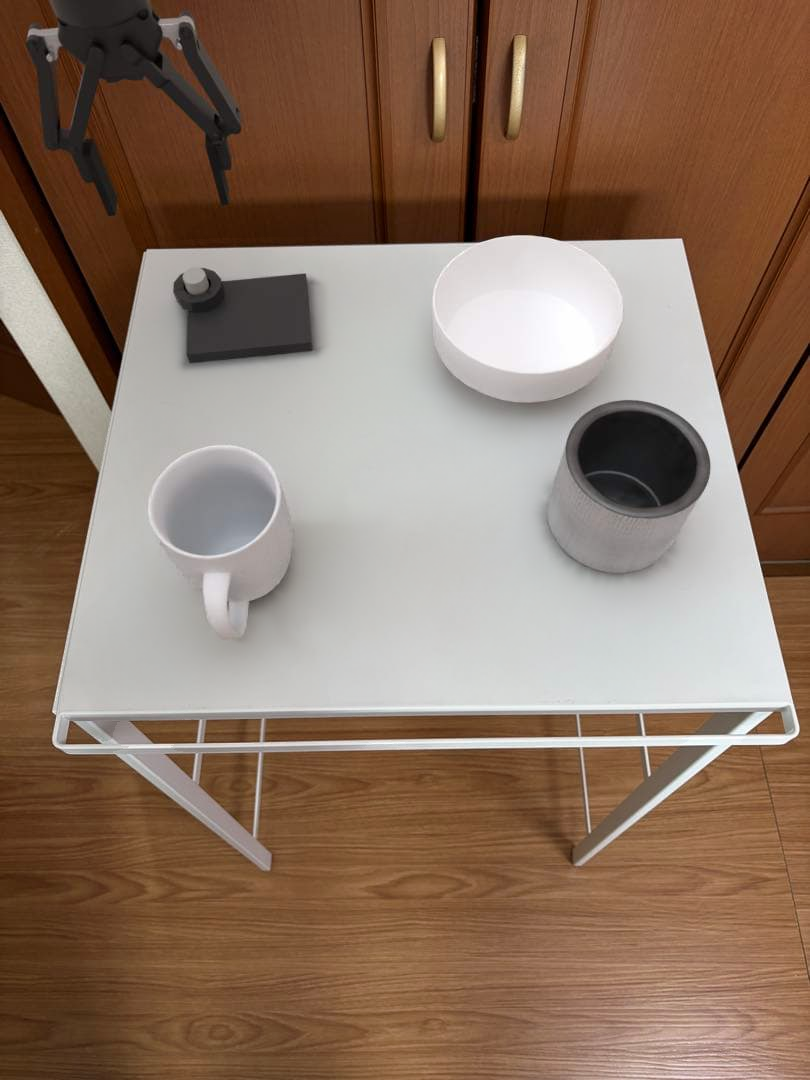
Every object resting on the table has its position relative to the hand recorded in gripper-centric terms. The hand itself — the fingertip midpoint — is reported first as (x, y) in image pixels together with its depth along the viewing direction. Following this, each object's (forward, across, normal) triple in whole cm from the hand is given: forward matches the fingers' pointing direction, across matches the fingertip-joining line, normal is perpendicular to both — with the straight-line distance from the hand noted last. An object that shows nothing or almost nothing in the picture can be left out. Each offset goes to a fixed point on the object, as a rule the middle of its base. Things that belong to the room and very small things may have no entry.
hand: (169, 201), depth 76 cm
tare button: (+11, 0, 0) cm, 11 cm away
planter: (+14, -40, +35) cm, 55 cm away
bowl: (+14, -36, +13) cm, 40 cm away
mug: (+14, -4, +37) cm, 40 cm away
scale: (+14, -5, +4) cm, 15 cm away
